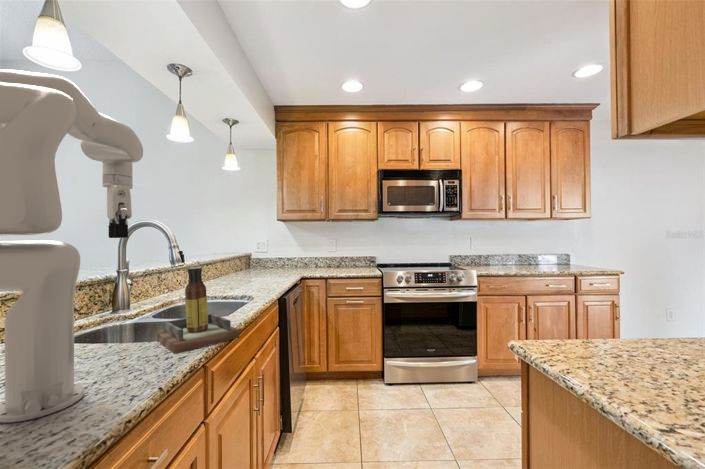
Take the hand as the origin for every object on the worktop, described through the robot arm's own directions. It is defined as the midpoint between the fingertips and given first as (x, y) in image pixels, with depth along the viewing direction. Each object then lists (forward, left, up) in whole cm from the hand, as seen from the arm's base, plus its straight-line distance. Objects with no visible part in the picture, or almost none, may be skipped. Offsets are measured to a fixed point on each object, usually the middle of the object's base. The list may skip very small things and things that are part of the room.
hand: (118, 237), depth 99 cm
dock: (-16, -18, -32) cm, 40 cm away
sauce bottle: (-15, -18, -30) cm, 38 cm away
